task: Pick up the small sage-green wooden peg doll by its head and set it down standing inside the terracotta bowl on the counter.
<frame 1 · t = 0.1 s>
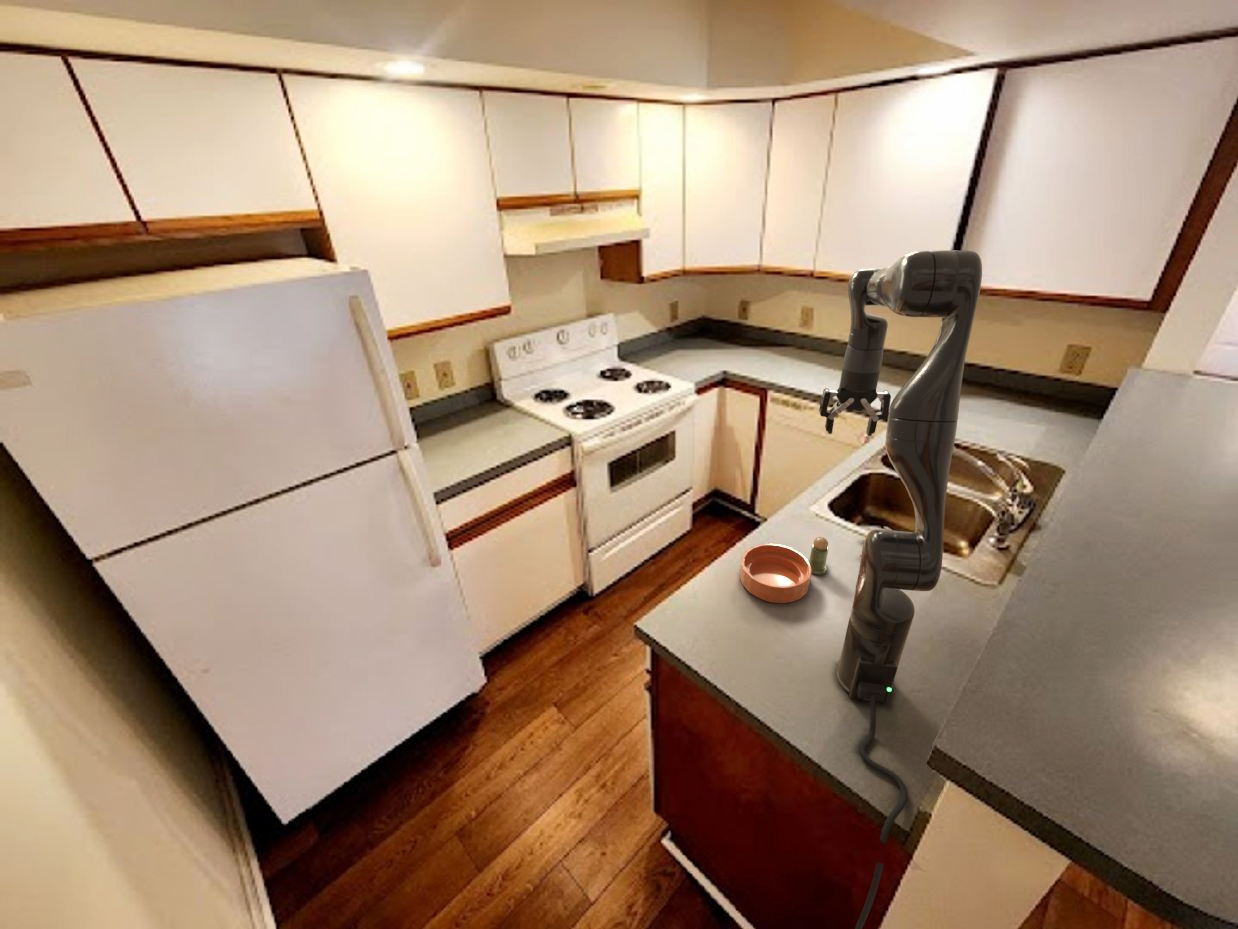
hand: (849, 433, 123), 29 cm above the countertop, tool pointing down, fingers open, 8 cm apart
bowl: (773, 581, 123), on the countertop
peg doll: (816, 568, 126), on the countertop
soldier figure: (876, 551, 131), on the countertop
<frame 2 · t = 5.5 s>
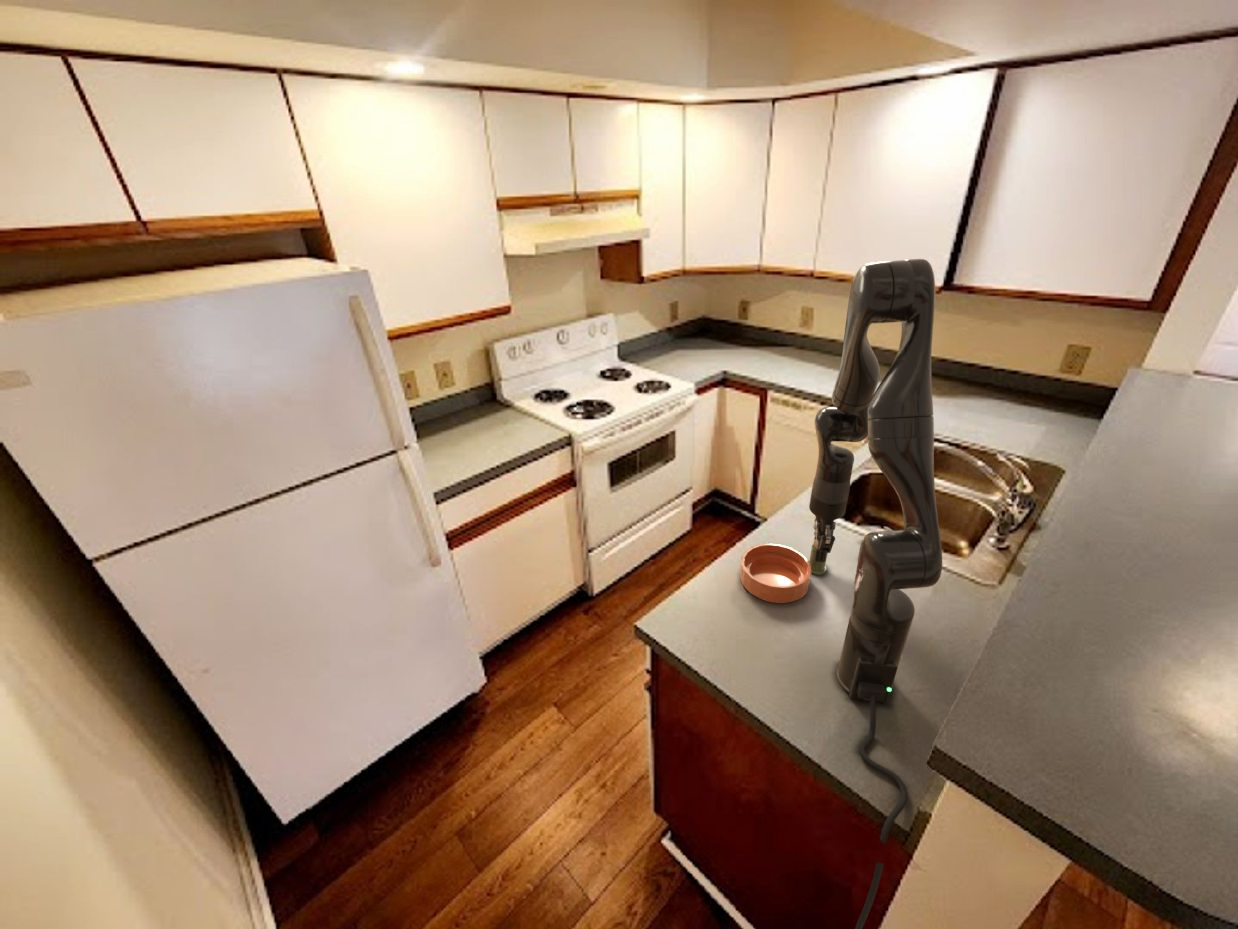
hand: (818, 555, 124), 4 cm above the countertop, tool pointing down, fingers closed on peg doll, 3 cm apart
peg doll: (816, 569, 126), on the countertop, touching gripper
everything else where it was.
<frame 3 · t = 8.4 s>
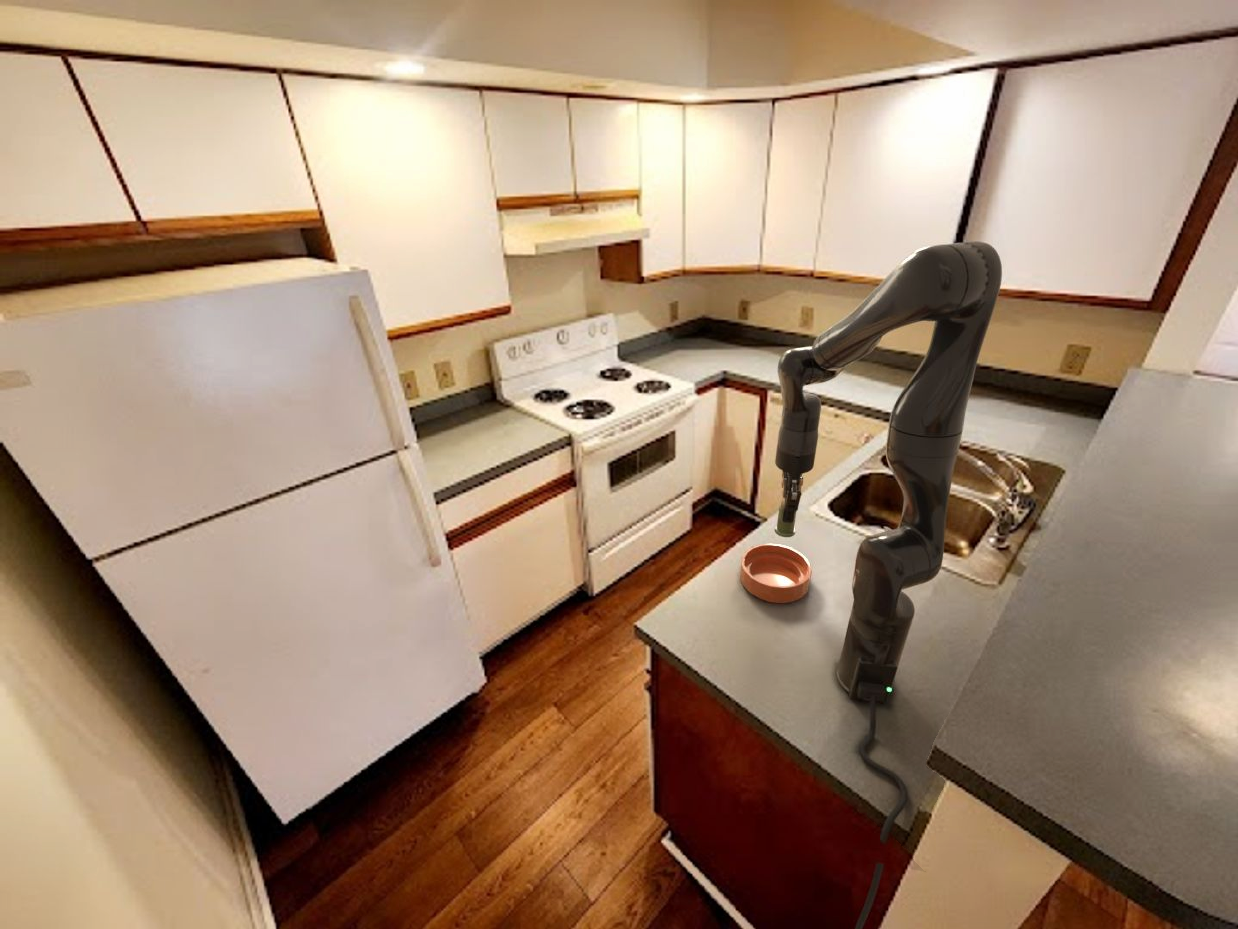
hand: (787, 515, 114), 18 cm above the countertop, tool pointing down, fingers closed on peg doll, 3 cm apart
peg doll: (784, 531, 116), point 14 cm above the countertop, touching gripper
everything else where it was.
when the fingers open (5 cm above the countertop, at t = 11.7 s): peg doll stays where it is, resting on bowl.
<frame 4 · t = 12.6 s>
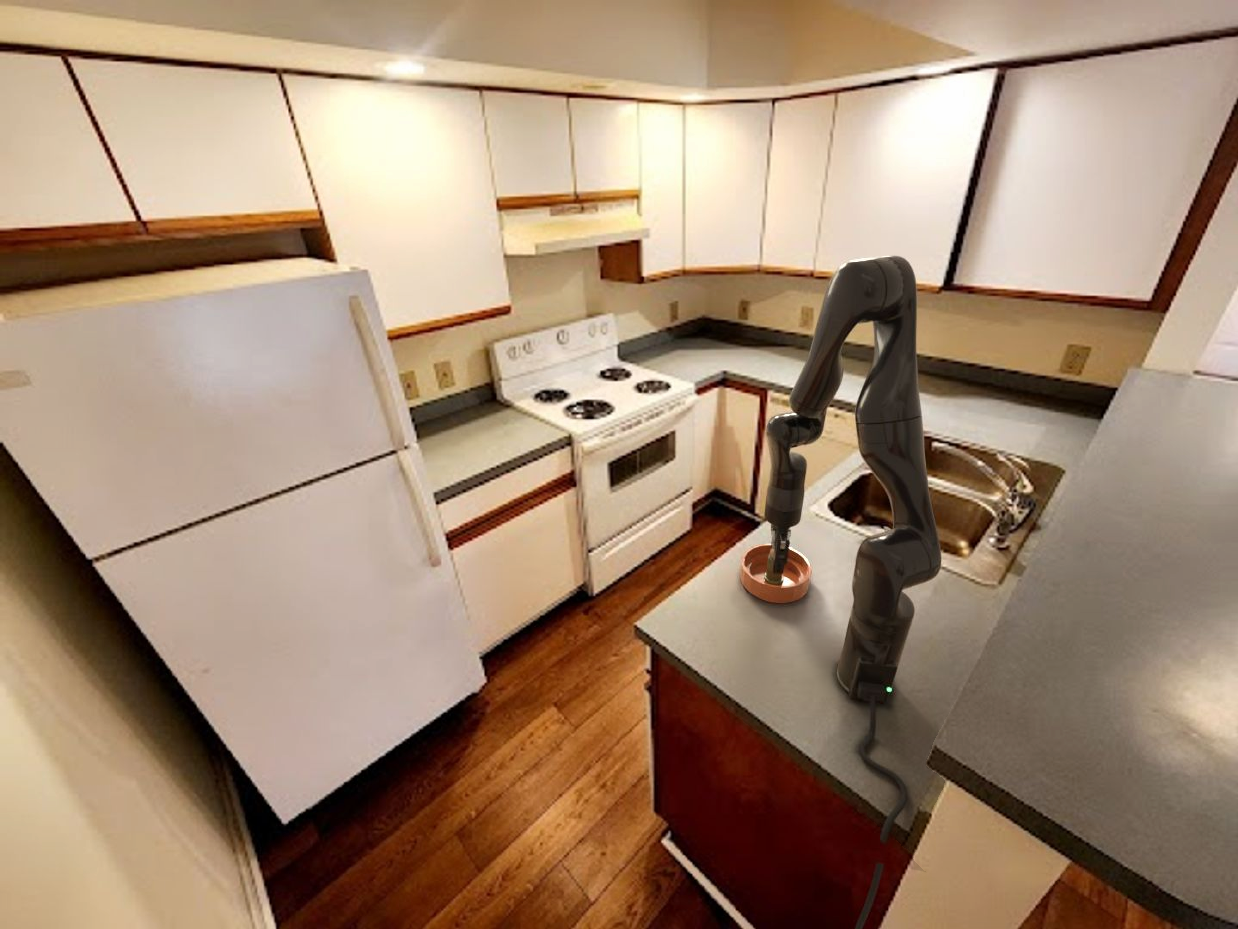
hand: (776, 560, 120), 6 cm above the countertop, tool pointing down, fingers open, 8 cm apart
peg doll: (773, 579, 123), point 1 cm above the countertop, touching bowl
everything else where it was.
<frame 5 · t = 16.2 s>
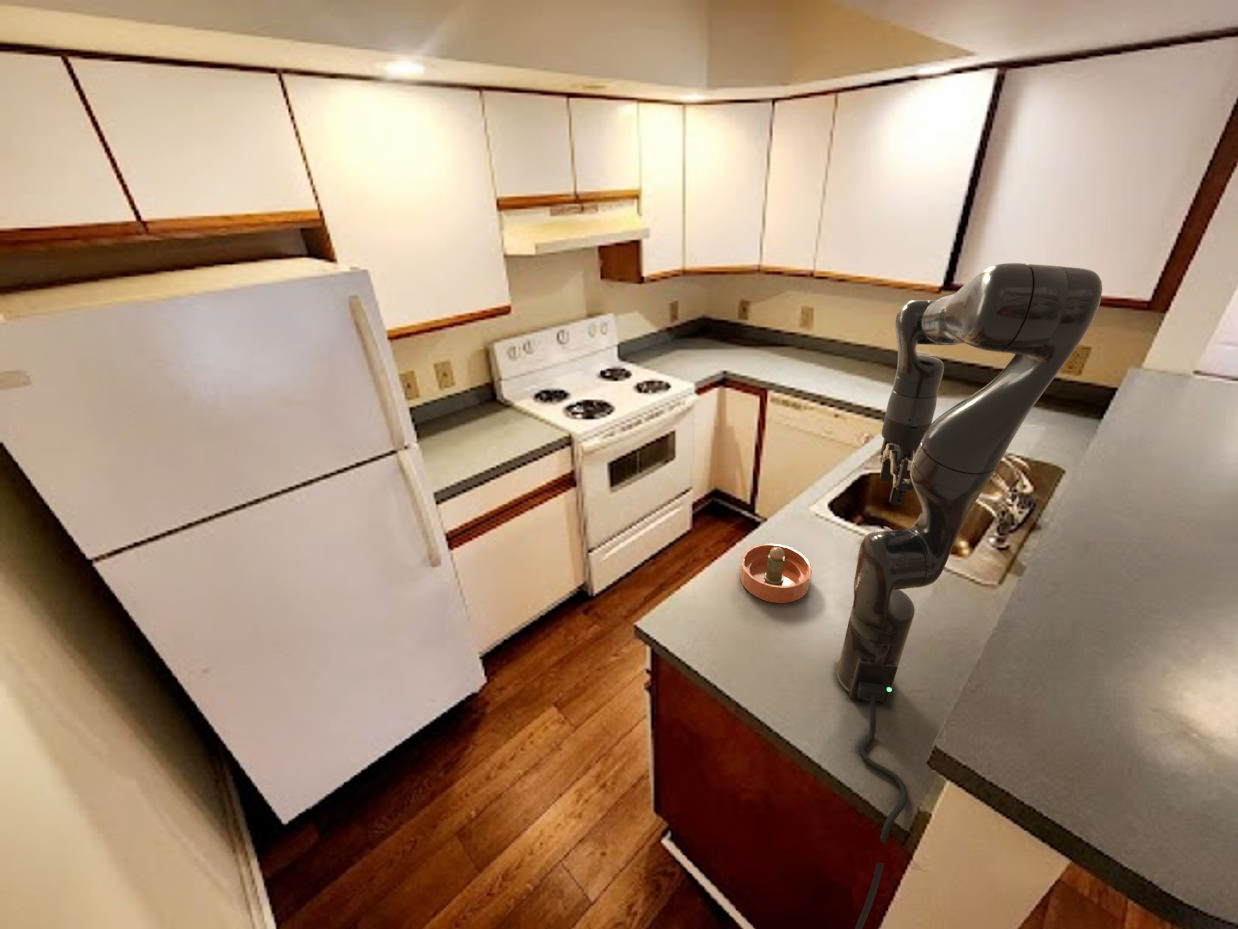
hand: (890, 491, 103), 28 cm above the countertop, tool pointing down, fingers open, 8 cm apart
nothing on the countertop moved.
at the end: peg doll inside the target area in the bowl (0.1 cm from its centre), point 0.6 cm above the bowl's base; the gripper is holding nothing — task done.
